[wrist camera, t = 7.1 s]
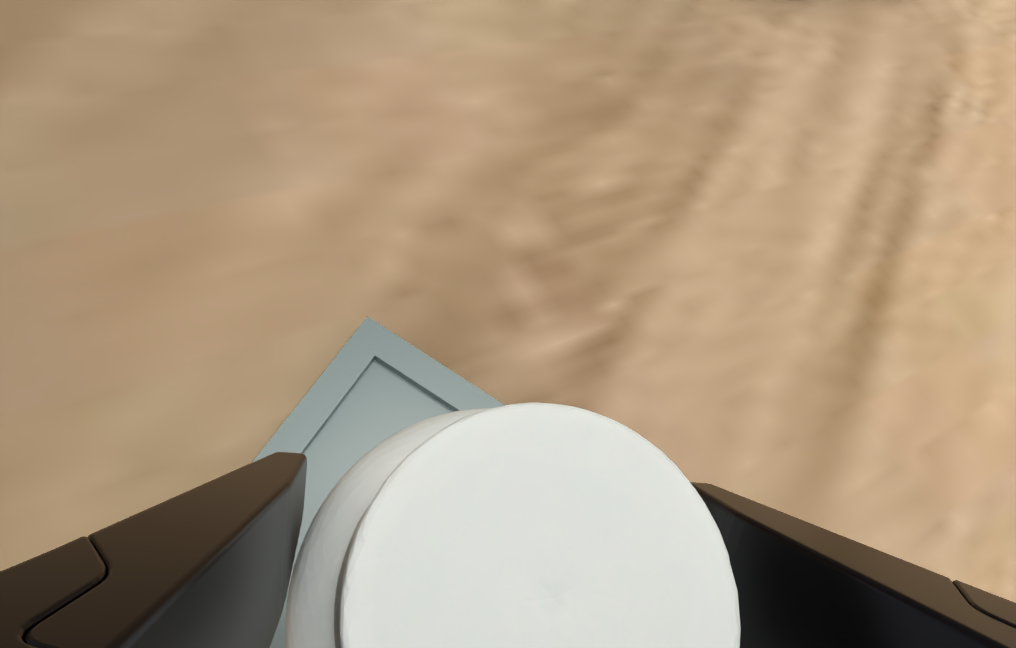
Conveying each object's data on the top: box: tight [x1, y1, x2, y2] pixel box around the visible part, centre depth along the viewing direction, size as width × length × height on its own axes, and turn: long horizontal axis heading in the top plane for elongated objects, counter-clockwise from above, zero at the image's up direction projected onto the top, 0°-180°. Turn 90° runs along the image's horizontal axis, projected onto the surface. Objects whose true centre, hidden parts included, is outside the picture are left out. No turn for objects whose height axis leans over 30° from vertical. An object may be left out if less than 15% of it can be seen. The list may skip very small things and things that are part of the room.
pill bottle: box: [285, 402, 741, 648], centre depth 11 cm, size 5×5×10 cm
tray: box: [252, 317, 505, 648], centre depth 20 cm, size 13×13×1 cm
